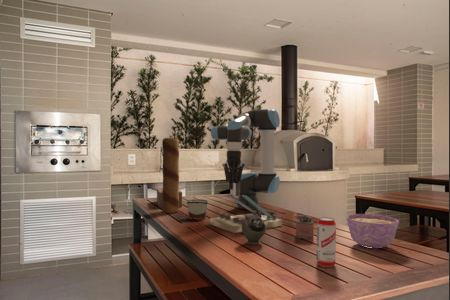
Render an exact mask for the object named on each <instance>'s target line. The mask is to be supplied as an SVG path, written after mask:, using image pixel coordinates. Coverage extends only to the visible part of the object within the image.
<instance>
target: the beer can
mask: <svg viewBox="0 0 450 300" xmlns="http://www.w3.org/2000/svg"><path fill="white" fill-rule="evenodd" d="M316 225H317V226H316V256H315V257H316V260H315V261H316V264H317V265H318V266H319V265H320V266H319V267H321V266H324V267H323V268H325V267H331V268H333V267H334V266H336V251H337V250H336V246H337V244H336V243H337V241H336V240H337V239H336V237H337V233H336V232H337V223H336V222H335V218H332V217H325V216H324V217H321V216H320V217H319V218H318V221H317V223H316ZM332 266H333V267H332Z"/></svg>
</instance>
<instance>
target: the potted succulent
mask: <svg viewBox="0 0 450 300" xmlns="http://www.w3.org/2000/svg"><path fill="white" fill-rule="evenodd" d="M298 219H299V220H298ZM314 225H315V222H314V221H312V216H307V215H298V214H297V215H296V220H295V235H294V237H296V238H295V239H300V238H305V239H304V240H314V239H315V238H314ZM313 238H314V239H313Z"/></svg>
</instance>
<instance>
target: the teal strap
mask: <svg viewBox="0 0 450 300" xmlns="http://www.w3.org/2000/svg"><path fill="white" fill-rule="evenodd" d="M242 197H244V198H245V199H246V200H247V201H249V202H250V203H251V204H252V205H254V206H255V207H256V208H257V209H256V210H258V211H261V214H264V215H265V216H267V217H269V218H271V219H273V215H271V213H270V214H269V212H268V211H266V210H265V209H264V208H263V207H261V206H260V205H257V204H256V203H255V202H254V201H252V200H251V199H250V198H249V197H248V196H246V195H242Z"/></svg>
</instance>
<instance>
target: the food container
mask: <svg viewBox="0 0 450 300" xmlns="http://www.w3.org/2000/svg"><path fill="white" fill-rule="evenodd" d="M186 205H187V213H188V219H192V218H193V219H196V220H198V219H199V220H206V218H207V210H208V209H207V208H208V205H209V202H208V200H207V199H203V198H201V199H200V198H199V199H198V198H196V199H193V198H192V199H187V201H186Z"/></svg>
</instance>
